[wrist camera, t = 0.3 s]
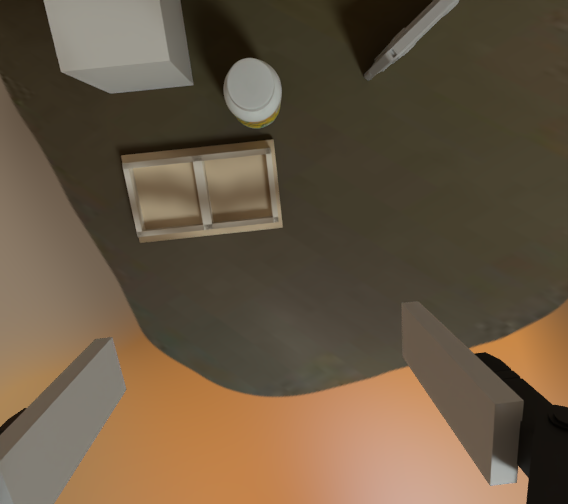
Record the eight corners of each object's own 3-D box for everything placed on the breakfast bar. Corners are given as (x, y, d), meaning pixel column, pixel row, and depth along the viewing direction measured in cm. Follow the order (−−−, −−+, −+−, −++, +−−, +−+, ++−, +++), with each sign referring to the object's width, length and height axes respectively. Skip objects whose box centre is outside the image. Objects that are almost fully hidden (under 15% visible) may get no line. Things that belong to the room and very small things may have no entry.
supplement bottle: (284, 83, 37) (289, 57, 28) (274, 134, 38) (275, 124, 29) (236, 71, 37) (224, 40, 27) (227, 122, 38) (213, 109, 29)
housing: (90, -3, 34) (29, -59, 26) (178, -11, 35) (147, -70, 26) (110, 93, 37) (61, 71, 28) (193, 85, 37) (169, 60, 28)
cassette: (370, 85, 38) (394, 66, 30) (359, 72, 37) (381, 49, 30) (456, 1, 36) (505, -41, 28) (446, -14, 36) (492, -60, 28)
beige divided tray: (123, 155, 38) (116, 155, 36) (273, 139, 39) (273, 138, 37) (142, 241, 41) (135, 245, 39) (282, 226, 41) (282, 229, 39)
